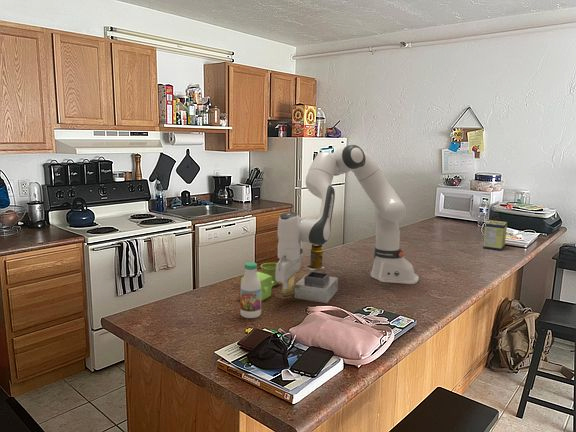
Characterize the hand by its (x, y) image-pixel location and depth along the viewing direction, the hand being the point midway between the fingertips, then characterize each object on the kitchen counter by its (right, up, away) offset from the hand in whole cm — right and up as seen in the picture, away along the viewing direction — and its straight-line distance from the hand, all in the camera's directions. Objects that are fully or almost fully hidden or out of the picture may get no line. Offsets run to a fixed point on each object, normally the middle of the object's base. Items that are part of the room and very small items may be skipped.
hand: (288, 285), depth 184 cm
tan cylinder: (0, -3, +1) cm, 3 cm away
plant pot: (-8, -3, +21) cm, 23 cm away
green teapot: (-13, -6, +3) cm, 15 cm away
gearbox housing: (+12, -5, +9) cm, 16 cm away
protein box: (+127, +9, +96) cm, 160 cm away
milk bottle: (-14, -9, -13) cm, 22 cm away
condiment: (+13, +2, +48) cm, 50 cm away
